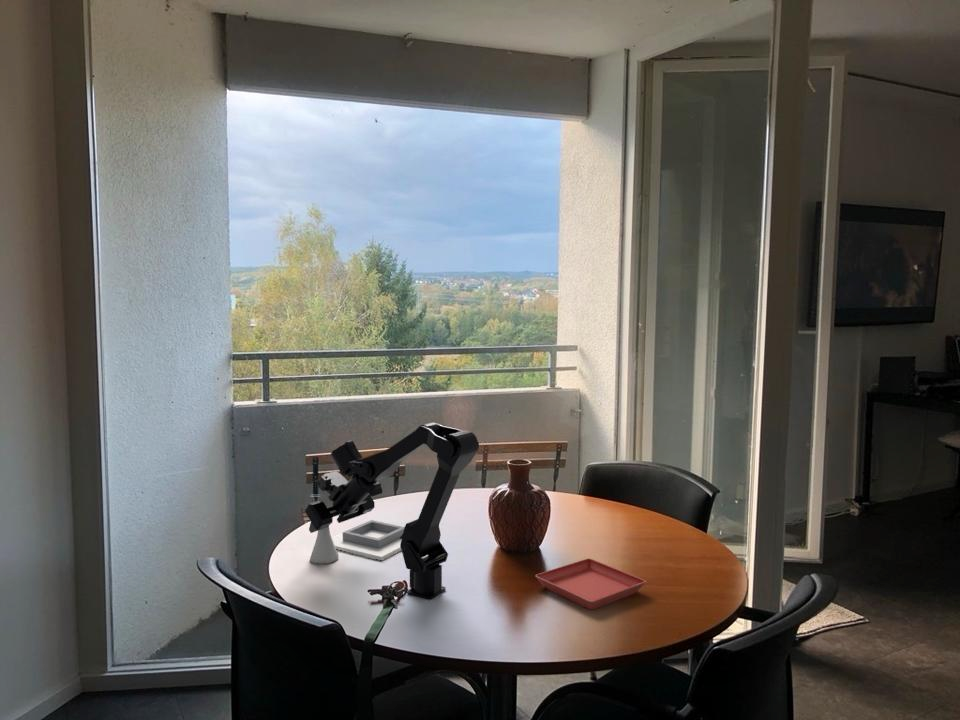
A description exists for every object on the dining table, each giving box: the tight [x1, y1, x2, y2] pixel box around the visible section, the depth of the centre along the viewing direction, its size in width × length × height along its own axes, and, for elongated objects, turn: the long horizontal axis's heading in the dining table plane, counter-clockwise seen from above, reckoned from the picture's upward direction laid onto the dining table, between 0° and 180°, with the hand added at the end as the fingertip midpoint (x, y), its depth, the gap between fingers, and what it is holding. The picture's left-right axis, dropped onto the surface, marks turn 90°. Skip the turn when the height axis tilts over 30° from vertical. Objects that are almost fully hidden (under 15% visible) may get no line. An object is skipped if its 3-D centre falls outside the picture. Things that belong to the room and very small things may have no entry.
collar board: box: [331, 519, 405, 561], centre depth 193 cm, size 20×20×3 cm
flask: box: [309, 526, 339, 564], centre depth 180 cm, size 7×7×10 cm
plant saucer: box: [535, 557, 647, 610], centre depth 163 cm, size 18×18×3 cm
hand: (324, 526), depth 180 cm, fingers open, 9 cm apart
